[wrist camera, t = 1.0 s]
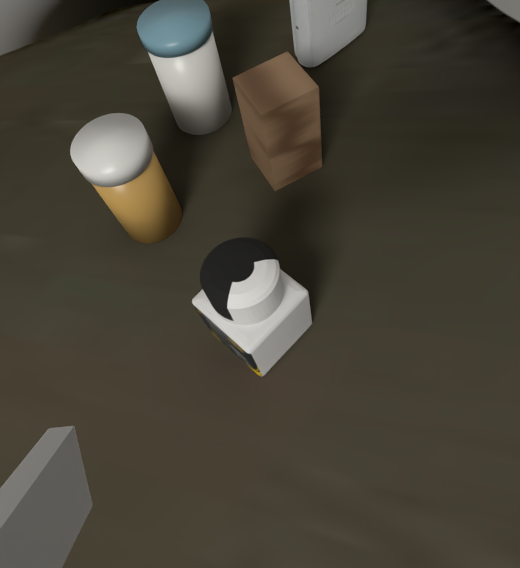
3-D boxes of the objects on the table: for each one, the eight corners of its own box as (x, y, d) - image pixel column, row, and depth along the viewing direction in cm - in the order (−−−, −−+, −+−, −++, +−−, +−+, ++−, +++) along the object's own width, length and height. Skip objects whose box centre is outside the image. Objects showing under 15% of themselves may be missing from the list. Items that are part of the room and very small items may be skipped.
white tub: (227, 85, 61) (203, -13, 50) (238, 126, 58) (214, 31, 46) (170, 100, 61) (133, 6, 50) (178, 142, 58) (140, 52, 47)
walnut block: (296, 133, 56) (287, 51, 46) (322, 167, 53) (318, 86, 43) (250, 156, 55) (232, 77, 46) (275, 191, 52) (260, 115, 43)
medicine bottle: (209, 330, 46) (170, 272, 35) (260, 280, 48) (237, 210, 37) (261, 379, 43) (237, 331, 33) (314, 323, 45) (306, 261, 34)
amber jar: (179, 186, 55) (141, 105, 44) (187, 235, 51) (149, 160, 41) (121, 201, 55) (69, 124, 44) (125, 252, 52) (71, 181, 41)
